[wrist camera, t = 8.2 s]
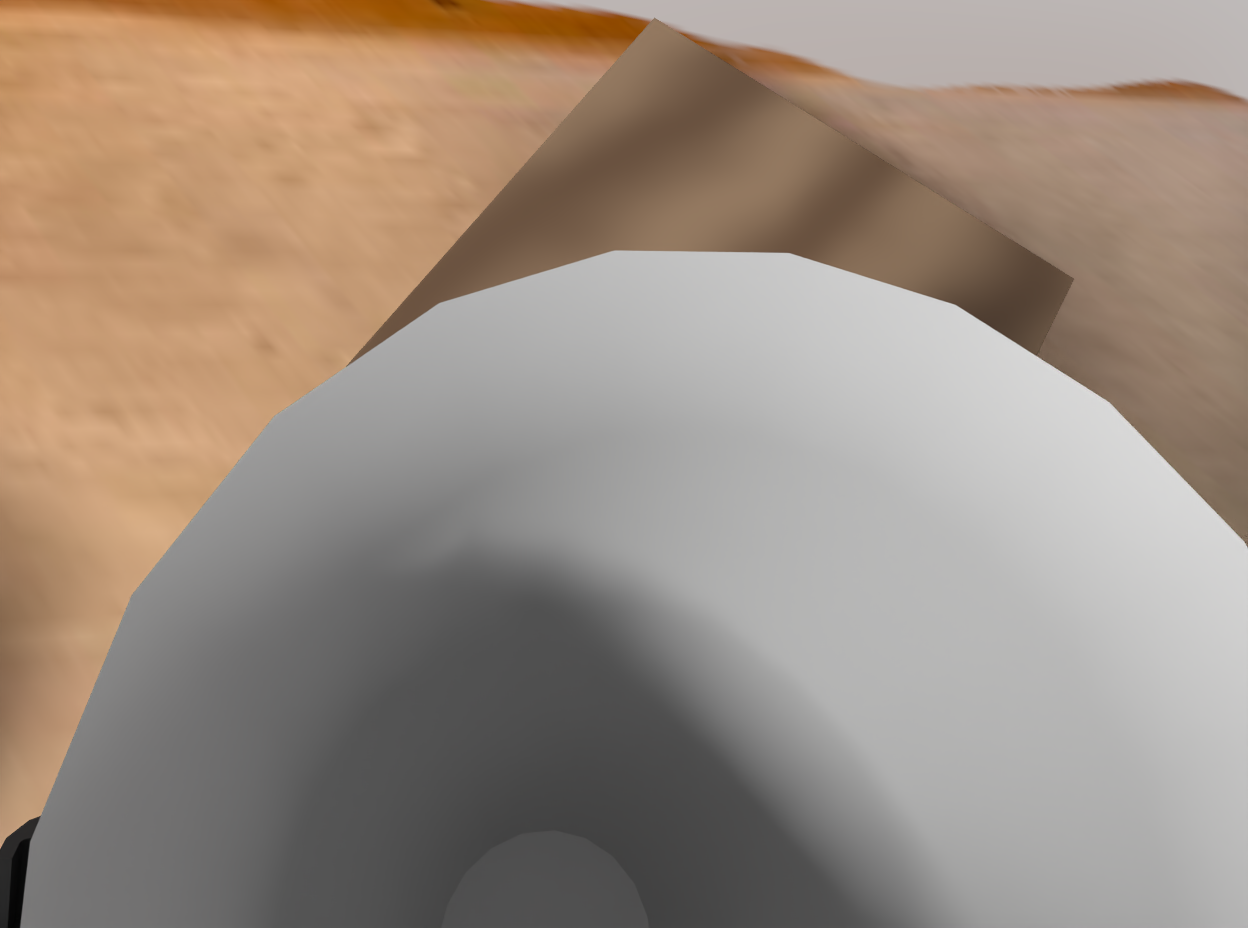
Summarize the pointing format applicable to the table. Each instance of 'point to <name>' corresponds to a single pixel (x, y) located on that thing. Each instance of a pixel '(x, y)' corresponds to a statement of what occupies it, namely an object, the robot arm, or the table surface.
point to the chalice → (675, 637)
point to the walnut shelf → (731, 197)
